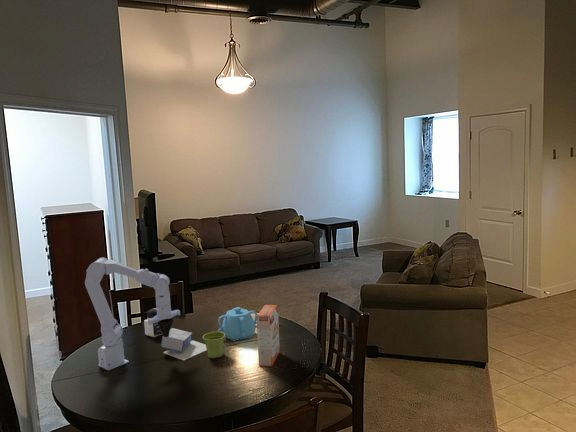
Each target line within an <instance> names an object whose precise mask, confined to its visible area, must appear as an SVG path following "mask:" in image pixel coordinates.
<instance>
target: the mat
mask: <svg viewBox="0 0 576 432" xmlns="http://www.w3.org/2000/svg"><path fill="white" fill-rule="evenodd" d="M204 352H207V349H206V344H205V343H202V342H199V341H196V340H194V339H193V340H192V339H191V342H190V344H189V345H188V346H187V347H186V348H185V349H184V350H183V352H179V351H175V350H171V349H167V350H165V351H164V352H163V354H165V355H168V356H170V357H173V358H176V359H178V360H180V361H187V360H189V359H190V358H194V357H196V356H197V355H198V356H199V355H200V354H202V353H204Z"/></svg>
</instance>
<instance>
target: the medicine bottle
mask: <svg viewBox="0 0 576 432" xmlns="http://www.w3.org/2000/svg"><path fill="white" fill-rule="evenodd" d="M146 313H147V319H144V320H143V325H144V334H145V335H146V336H149V337H153V338H156V337H159V336H161V335H163V333H162V331H161V329H160V327H159V325H158V324H157V322H156V323H154V324H153V325H149V324H148V319H151V318H153V317H154V316H156V315H157V308H156V307H155V308H151V309H148V310H147V312H146Z"/></svg>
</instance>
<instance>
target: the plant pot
mask: <svg viewBox="0 0 576 432" xmlns="http://www.w3.org/2000/svg"><path fill="white" fill-rule="evenodd" d="M225 337H226V336H225V333H223V332H222V331H220V332H218V331H210V332H208V333H205V334H203V336H202V340H203V341H204V344H205V345H206V349H207V351H206V352H207V356H208V358H209V359H216V358H220V357H222V356H223V354H224V340H225Z"/></svg>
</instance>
